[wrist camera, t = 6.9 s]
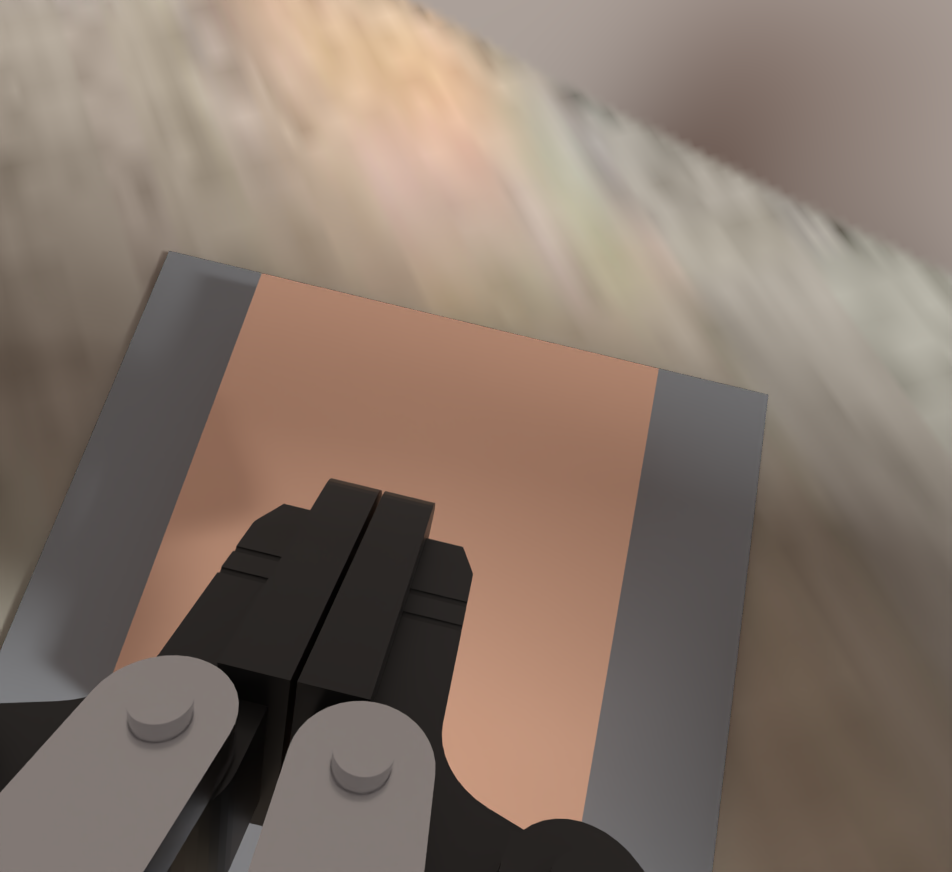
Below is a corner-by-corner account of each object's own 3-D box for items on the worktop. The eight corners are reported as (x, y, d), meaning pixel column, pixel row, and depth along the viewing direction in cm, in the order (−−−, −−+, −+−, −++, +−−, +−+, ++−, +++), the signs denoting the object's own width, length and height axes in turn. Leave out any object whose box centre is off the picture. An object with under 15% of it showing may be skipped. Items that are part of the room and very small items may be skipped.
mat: (762, 398, 19) (768, 394, 18) (665, 1211, 14) (670, 1223, 13) (173, 256, 19) (169, 251, 19) (-140, 1003, 14) (-152, 1010, 14)
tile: (550, 839, 15) (628, 407, 18) (572, 875, 13) (658, 368, 16) (139, 736, 15) (284, 324, 18) (83, 751, 13) (261, 273, 16)
